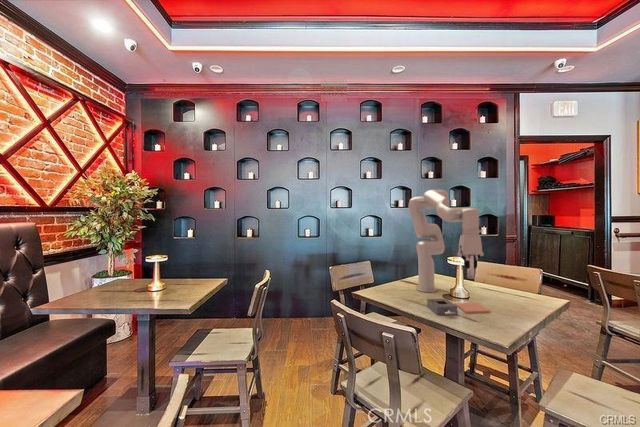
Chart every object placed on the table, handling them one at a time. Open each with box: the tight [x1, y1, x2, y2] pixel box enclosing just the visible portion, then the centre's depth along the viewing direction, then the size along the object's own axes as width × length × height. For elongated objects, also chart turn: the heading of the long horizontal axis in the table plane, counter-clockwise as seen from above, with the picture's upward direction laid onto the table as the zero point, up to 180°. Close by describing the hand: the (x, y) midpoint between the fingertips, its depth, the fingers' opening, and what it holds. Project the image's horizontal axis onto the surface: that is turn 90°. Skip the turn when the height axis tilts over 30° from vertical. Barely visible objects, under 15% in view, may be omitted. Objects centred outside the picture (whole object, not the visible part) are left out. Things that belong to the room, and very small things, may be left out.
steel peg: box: [466, 255, 475, 280], centre depth 147 cm, size 3×3×12 cm
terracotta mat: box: [453, 302, 491, 314], centre depth 147 cm, size 12×12×1 cm
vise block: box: [426, 298, 458, 316], centre depth 144 cm, size 16×10×4 cm, turn 1°
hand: (470, 267), depth 147 cm, fingers closed on steel peg, 3 cm apart
